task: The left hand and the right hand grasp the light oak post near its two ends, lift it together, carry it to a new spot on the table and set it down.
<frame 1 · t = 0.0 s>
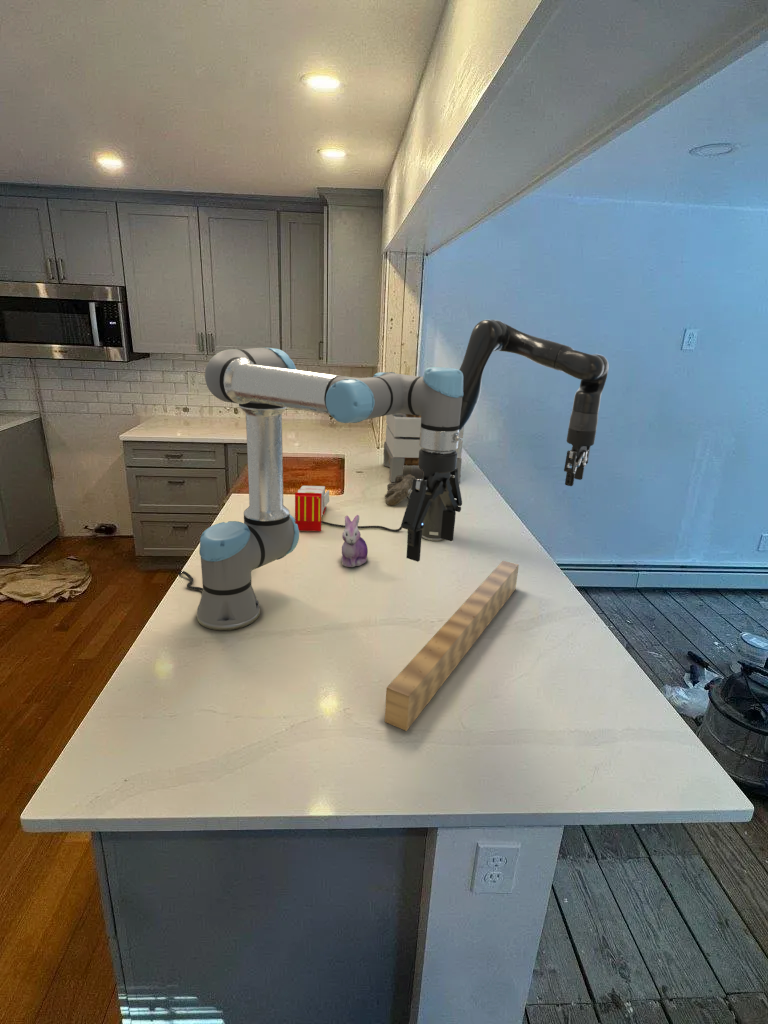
left hand: (430, 549, 118), 28 cm above the counter, tool pointing down, fingers open, 13 cm apart
right hand: (573, 482, 165), 29 cm above the counter, tool pointing down, fingers open, 8 cm apart
post: (463, 642, 136), on the counter
fossil: (399, 499, 236), on the counter
figurine: (353, 562, 176), on the counter
transformer: (419, 473, 275), on the counter
toy: (311, 518, 211), on the counter
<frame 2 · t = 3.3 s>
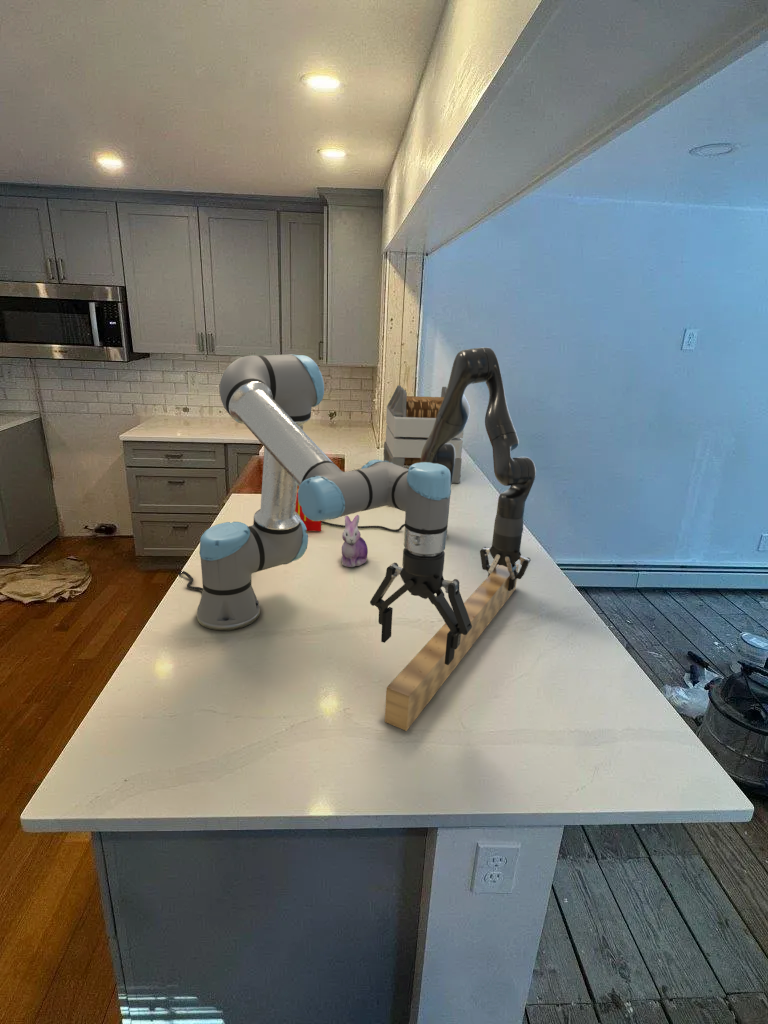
left hand: (416, 649, 110), 13 cm above the counter, tool pointing down, fingers open, 13 cm apart
right hand: (500, 586, 157), 3 cm above the counter, tool pointing down, fingers closed on post, 4 cm apart
post: (463, 642, 136), on the counter, touching right hand
everything else where it was.
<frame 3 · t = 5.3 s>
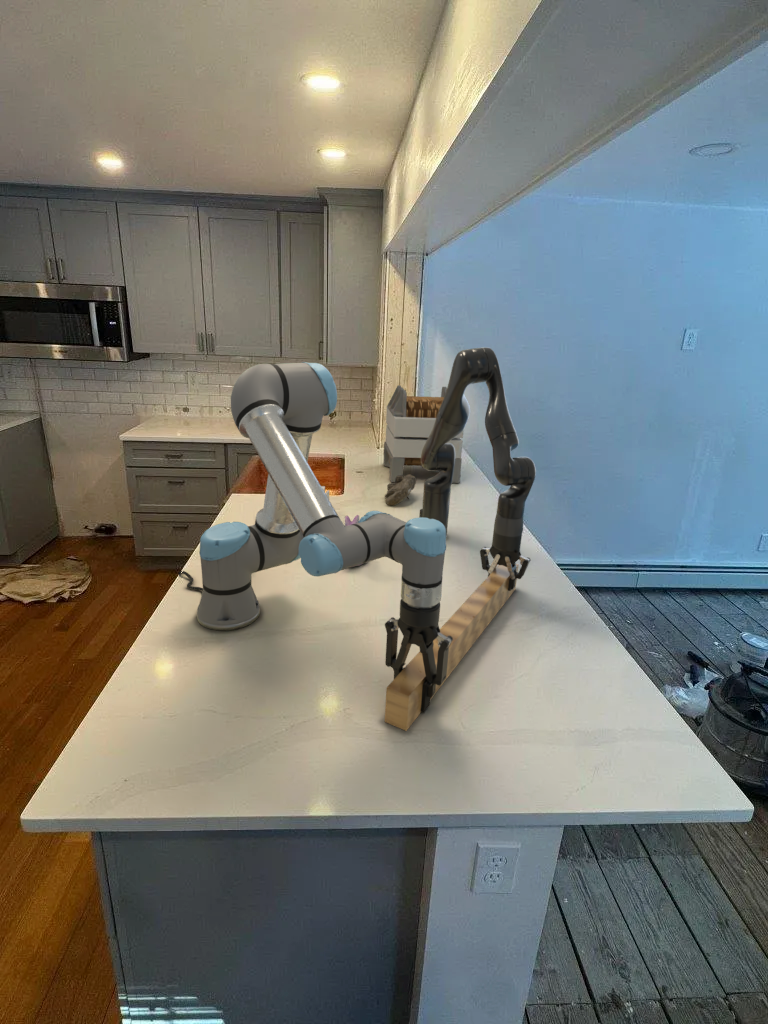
left hand: (412, 702, 114), 1 cm above the counter, tool pointing down, fingers closed on post, 5 cm apart
right hand: (500, 586, 157), 3 cm above the counter, tool pointing down, fingers closed on post, 4 cm apart
post: (463, 642, 136), on the counter, touching right hand, left hand
everything else where it was.
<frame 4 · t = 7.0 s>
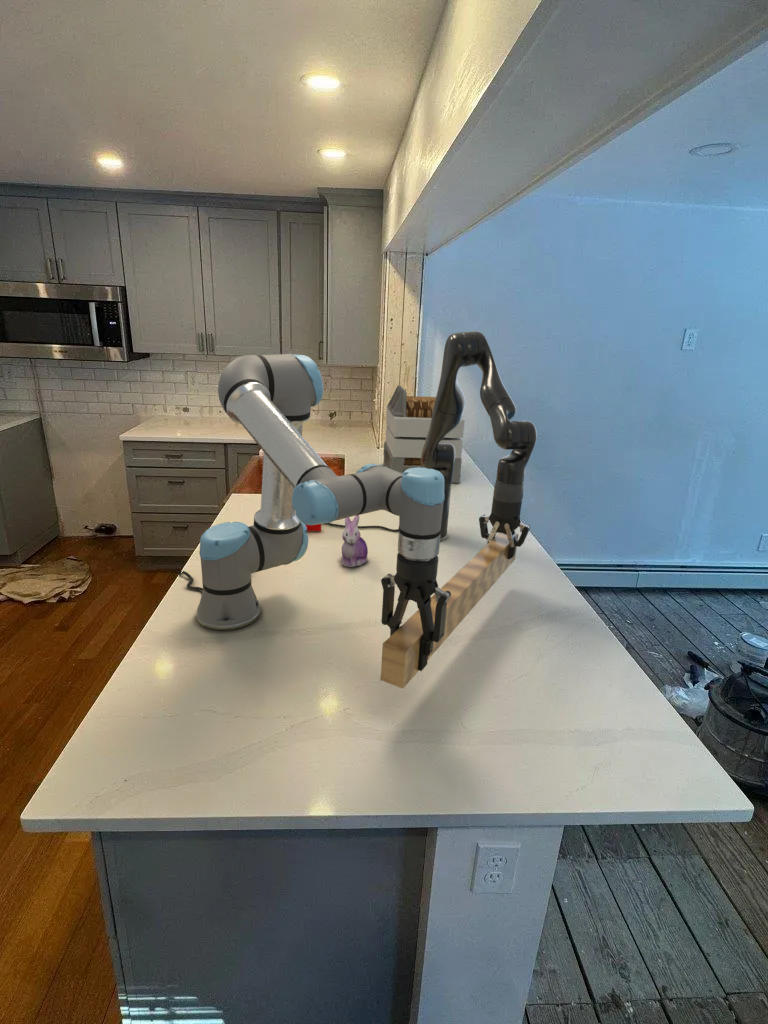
left hand: (409, 662, 111), 10 cm above the counter, tool pointing down, fingers closed on post, 5 cm apart
right hand: (500, 555, 154), 13 cm above the counter, tool pointing down, fingers closed on post, 4 cm apart
post: (461, 607, 133), point 9 cm above the counter, touching right hand, left hand
everything else where it was.
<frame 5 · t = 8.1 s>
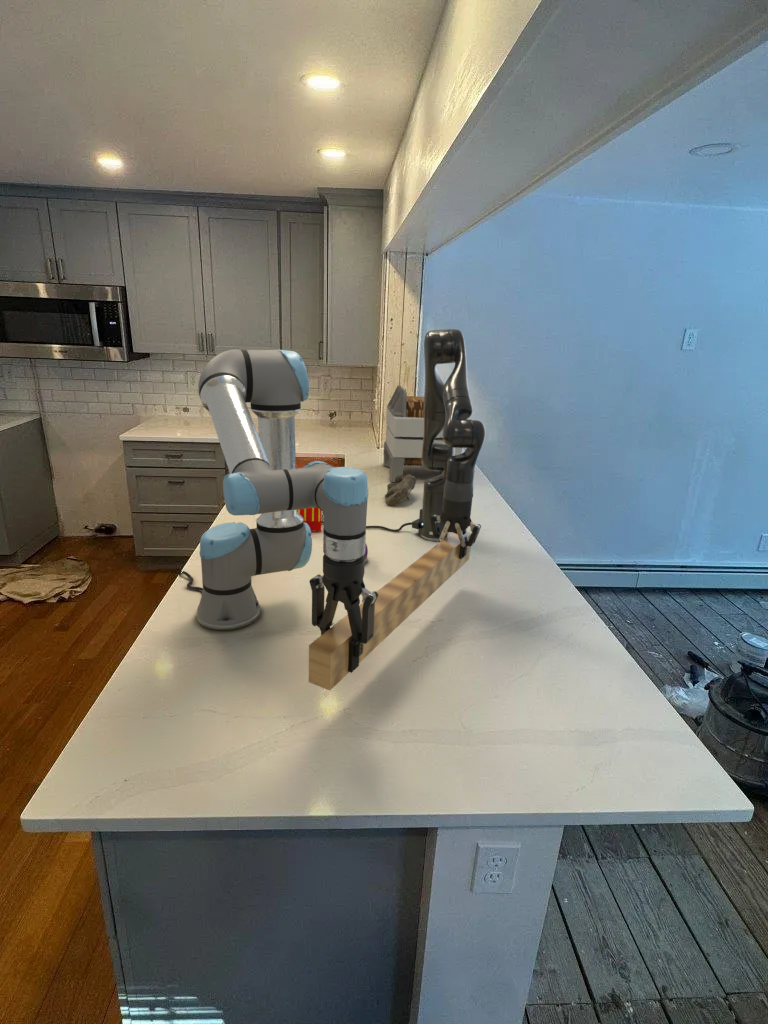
left hand: (341, 663, 109), 10 cm above the counter, tool pointing down, fingers closed on post, 5 cm apart
right hand: (452, 555, 153), 13 cm above the counter, tool pointing down, fingers closed on post, 4 cm apart
post: (405, 607, 132), point 9 cm above the counter, touching right hand, left hand
everything else where it was.
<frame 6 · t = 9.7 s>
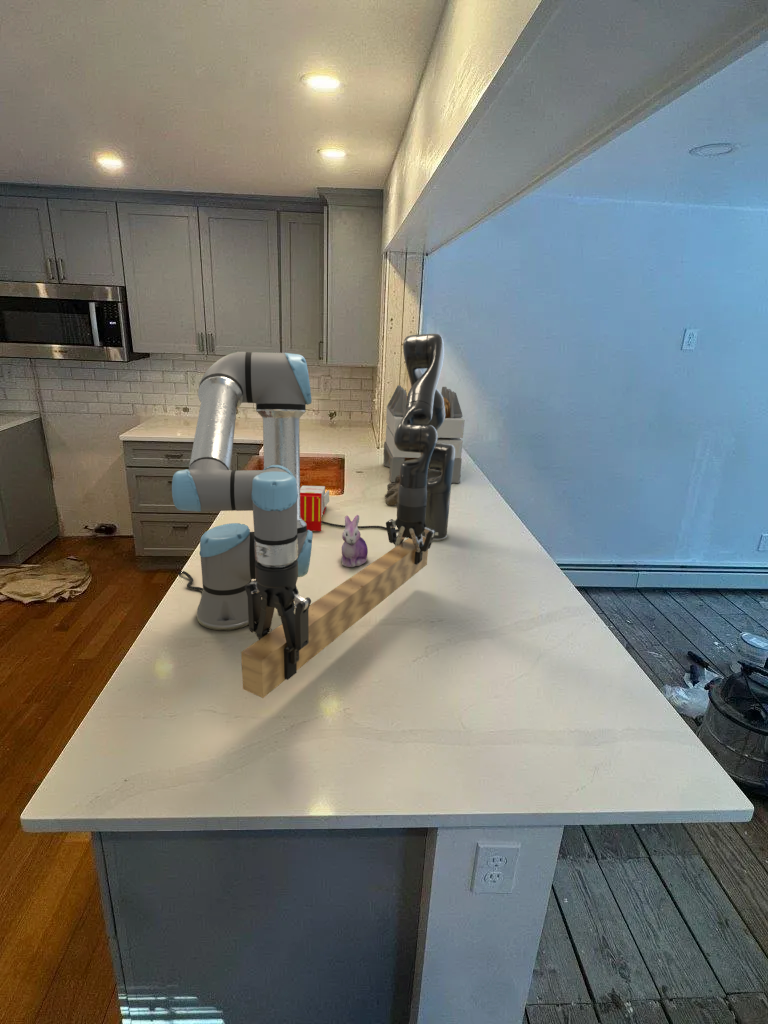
left hand: (279, 670, 108), 9 cm above the counter, tool pointing down, fingers closed on post, 5 cm apart
right hand: (408, 560, 152), 11 cm above the counter, tool pointing down, fingers closed on post, 4 cm apart
post: (354, 613, 131), point 8 cm above the counter, touching right hand, left hand
everything else where it was.
when the left hand's fingers open (2 cm above the counter, at t = 10.9 s): post moves 1 cm, on the counter.
when the right hand's fingers open (4 cm above the counter, at t = 11.1 s): post stays where it is, on the counter.
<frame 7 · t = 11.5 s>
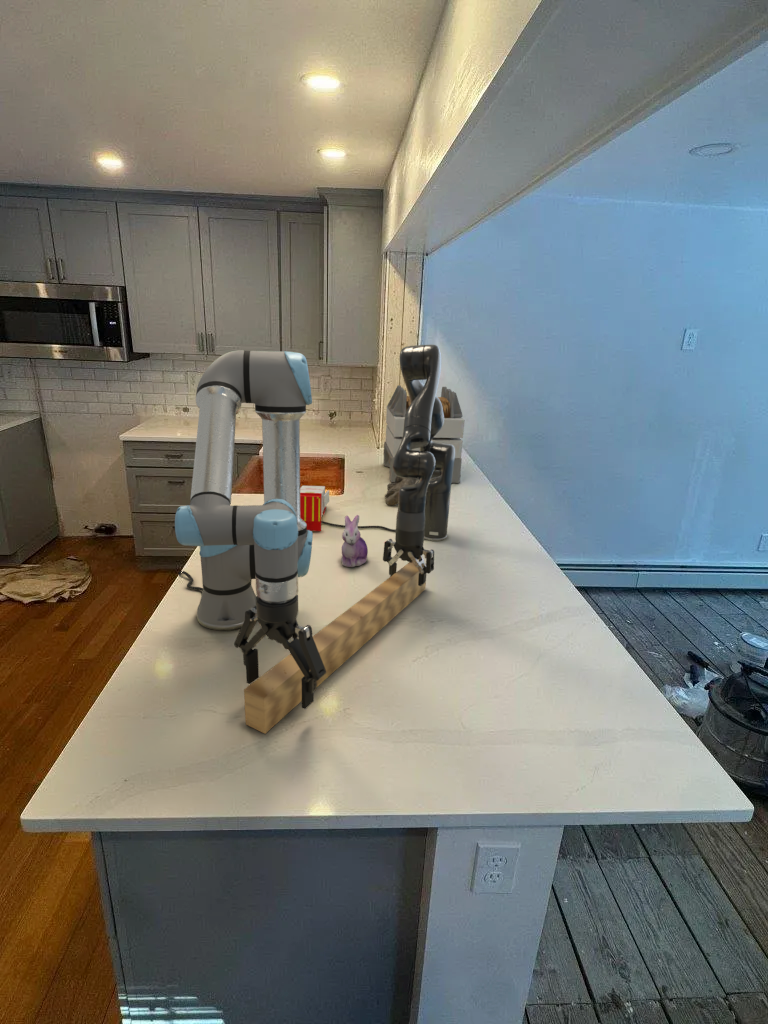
left hand: (279, 692, 110), 4 cm above the counter, tool pointing down, fingers open, 13 cm apart
right hand: (406, 580, 154), 5 cm above the counter, tool pointing down, fingers open, 8 cm apart
post: (353, 643, 134), on the counter
everything else where it was.
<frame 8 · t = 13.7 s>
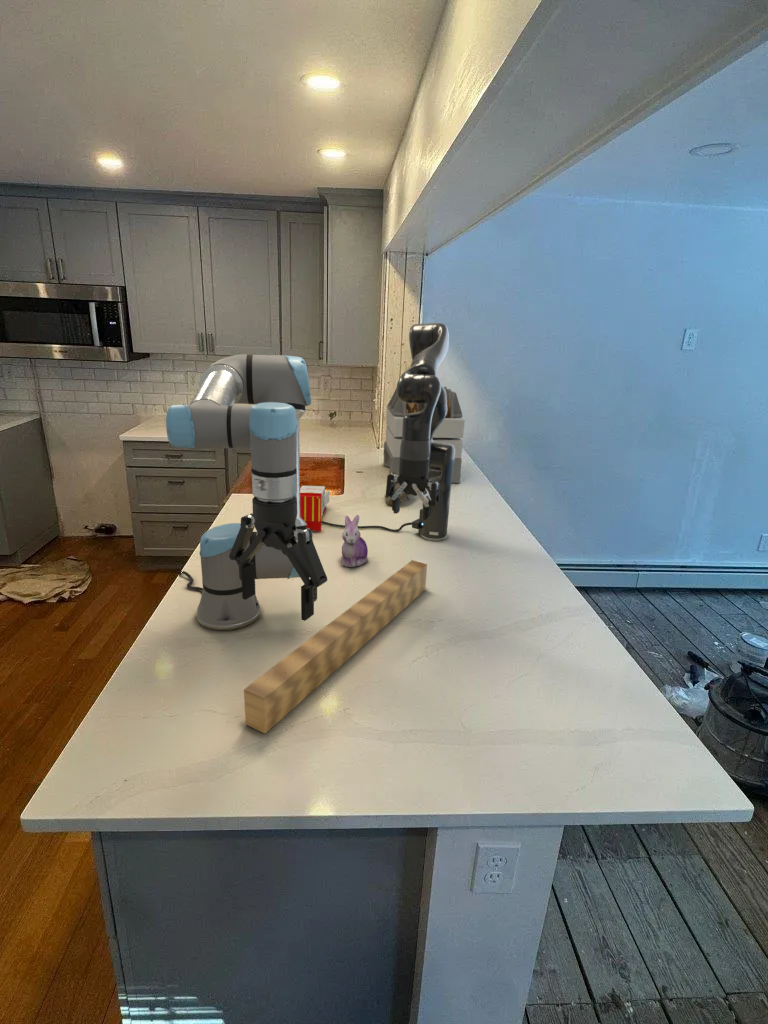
left hand: (277, 606, 103), 23 cm above the counter, tool pointing down, fingers open, 13 cm apart
right hand: (410, 516, 148), 24 cm above the counter, tool pointing down, fingers open, 8 cm apart
nothing on the counter moved.
at the end: post inside the target area (0.4 cm from its centre), on the counter; post tilted 0°; post never tilted more than 1° during the clip; both hands held the post at the same time; the left hand is holding nothing; the right hand is holding nothing; post at rest at the end (0.0 cm/s) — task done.
